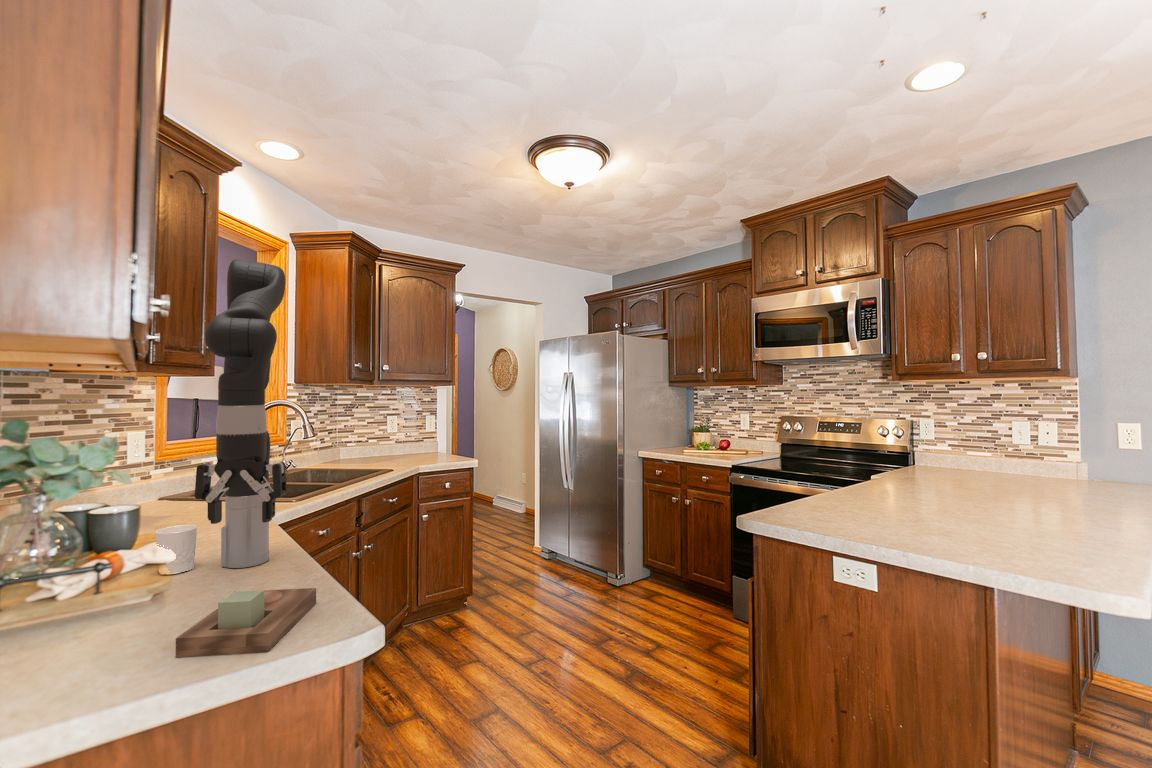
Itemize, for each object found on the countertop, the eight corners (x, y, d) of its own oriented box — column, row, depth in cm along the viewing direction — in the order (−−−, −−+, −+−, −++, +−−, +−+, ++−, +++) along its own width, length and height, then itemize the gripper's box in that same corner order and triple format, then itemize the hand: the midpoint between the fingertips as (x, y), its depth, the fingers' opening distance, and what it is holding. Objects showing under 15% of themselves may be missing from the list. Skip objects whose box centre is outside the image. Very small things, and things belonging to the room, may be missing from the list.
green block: (218, 639, 88) (218, 602, 88) (234, 625, 93) (234, 591, 93) (249, 637, 88) (249, 601, 88) (264, 624, 93) (264, 590, 93)
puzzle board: (175, 657, 84) (175, 634, 84) (241, 606, 103) (241, 588, 104) (268, 651, 85) (268, 629, 85) (316, 603, 105) (316, 584, 105)
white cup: (152, 571, 125) (152, 529, 125) (192, 563, 131) (192, 523, 131) (158, 579, 120) (159, 535, 120) (200, 570, 126) (200, 528, 126)
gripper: (293, 428, 98) (293, 516, 98) (211, 429, 96) (211, 517, 96) (274, 432, 90) (274, 526, 90) (185, 433, 89) (185, 529, 89)
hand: (241, 522), depth 93 cm, fingers open, 8 cm apart
